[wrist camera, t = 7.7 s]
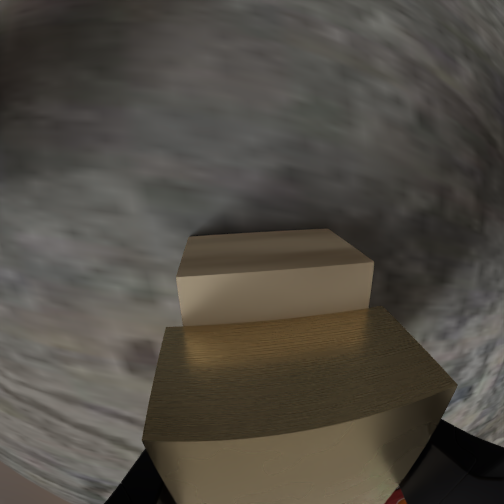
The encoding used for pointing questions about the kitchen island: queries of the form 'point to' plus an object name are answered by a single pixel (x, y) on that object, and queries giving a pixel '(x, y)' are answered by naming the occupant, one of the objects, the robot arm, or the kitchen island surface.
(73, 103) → the kitchen island surface
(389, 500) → the smoothie
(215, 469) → the tan rectangular block
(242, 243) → the body
